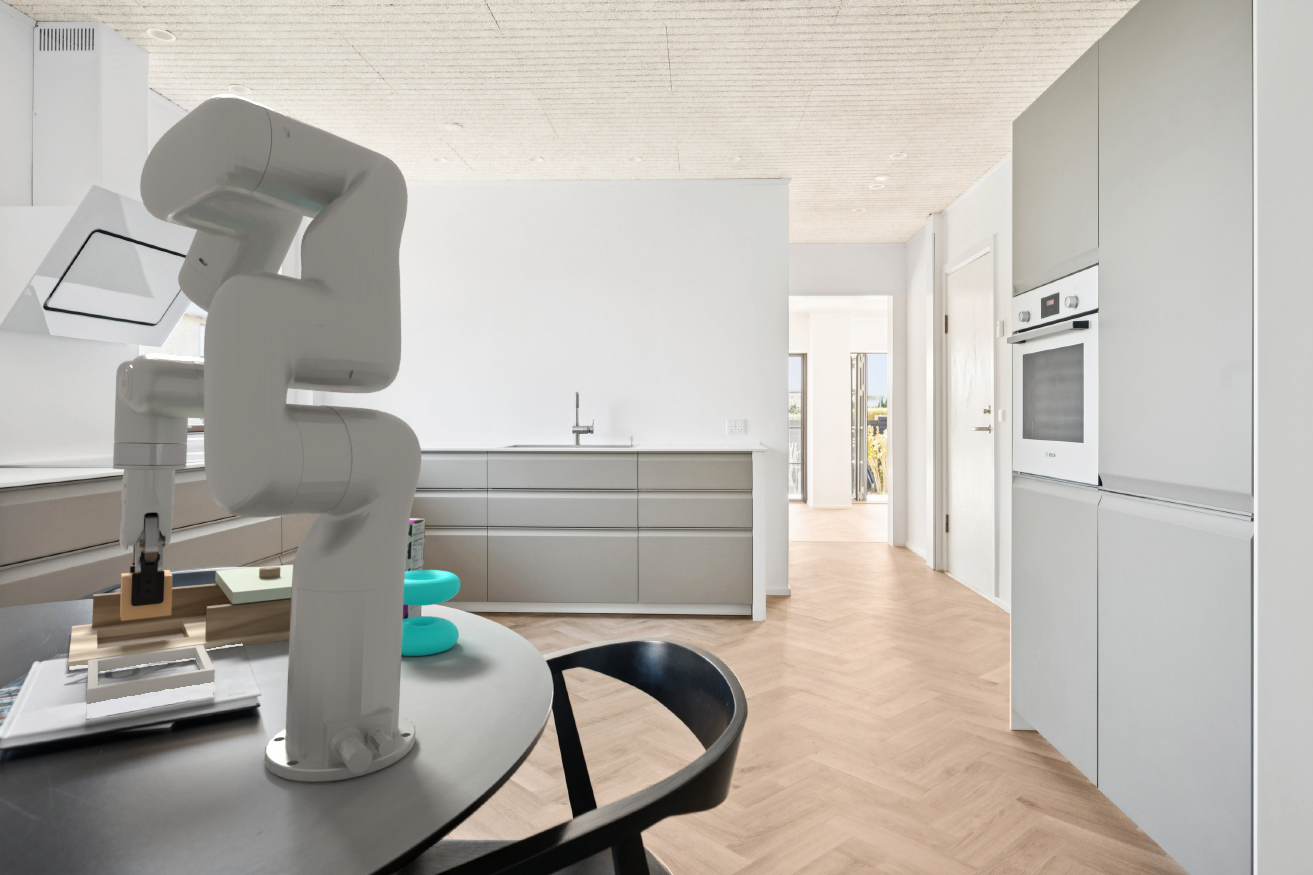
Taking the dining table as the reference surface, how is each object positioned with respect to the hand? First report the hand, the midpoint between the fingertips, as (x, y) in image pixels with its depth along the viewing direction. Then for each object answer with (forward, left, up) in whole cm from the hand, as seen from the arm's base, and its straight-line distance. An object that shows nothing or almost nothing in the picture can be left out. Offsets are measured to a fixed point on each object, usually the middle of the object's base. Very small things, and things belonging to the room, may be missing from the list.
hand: (146, 598), depth 86 cm
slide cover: (0, -14, 0) cm, 14 cm away
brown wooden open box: (0, -6, -7) cm, 10 cm away
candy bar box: (-2, -29, -7) cm, 30 cm away
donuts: (-16, -30, -7) cm, 34 cm away
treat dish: (-16, 0, -7) cm, 17 cm away
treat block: (0, 0, -2) cm, 2 cm away
